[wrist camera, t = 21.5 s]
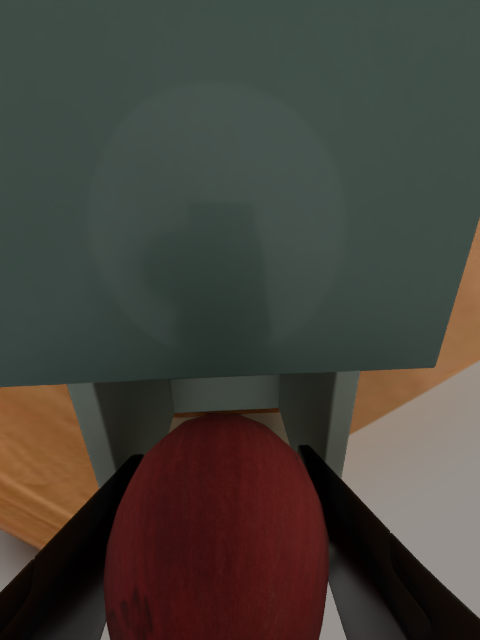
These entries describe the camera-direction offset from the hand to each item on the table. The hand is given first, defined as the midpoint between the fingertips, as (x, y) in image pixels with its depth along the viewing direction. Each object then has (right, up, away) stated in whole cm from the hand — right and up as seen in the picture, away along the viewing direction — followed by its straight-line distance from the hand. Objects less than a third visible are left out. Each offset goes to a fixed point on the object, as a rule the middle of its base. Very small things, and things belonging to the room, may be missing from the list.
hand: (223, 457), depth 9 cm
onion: (0, +1, +2) cm, 2 cm away
